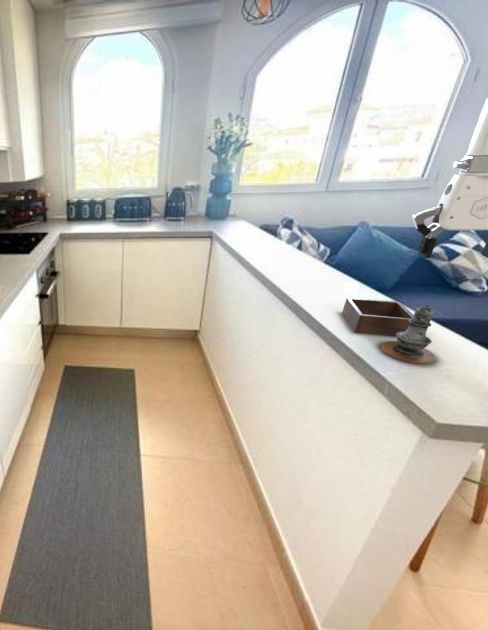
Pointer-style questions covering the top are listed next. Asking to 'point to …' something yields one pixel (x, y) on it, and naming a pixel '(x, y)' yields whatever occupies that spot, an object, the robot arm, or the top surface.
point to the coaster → (425, 359)
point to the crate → (376, 316)
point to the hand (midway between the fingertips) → (455, 256)
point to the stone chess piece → (415, 334)
